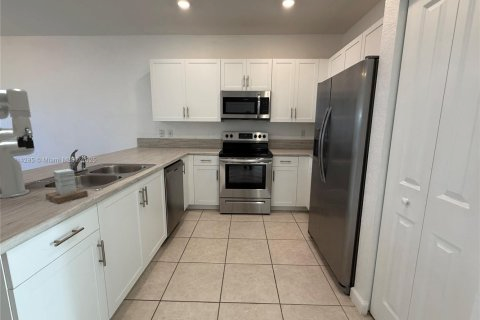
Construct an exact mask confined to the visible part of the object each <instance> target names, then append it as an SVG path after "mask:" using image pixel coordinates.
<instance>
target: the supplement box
mask: <svg viewBox="0 0 480 320" xmlns="http://www.w3.org/2000/svg"><path fill="white" fill-rule="evenodd" d="M53 177H54V183H55V185H54V186H55V190H56V191H55V192H57V193H58V194H60V195H66V194H71V193H75V192H77V190H76V188H77V184H76V175H75V170H73V169H71V168H66V169H59V170H53Z"/></svg>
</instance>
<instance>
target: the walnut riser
mask: <svg viewBox="0 0 480 320" xmlns="http://www.w3.org/2000/svg"><path fill="white" fill-rule="evenodd" d="M76 190H77V192H75V193H71V194H66V195H60V194H58V193H57V192H56V191H54V192H50V193H46V194H44V195H45V200H46V201H49V202H52V203H54V204H56V205H60V204H63V203H64V204H65V203H66V202H67V201H68V202H72V201H75V200H79V199H82V198H85V197H86V198H87V197H88V196H89V195H88V194H89V193H88V190H85V189H81V188H77V187H76ZM71 200H72V201H71ZM68 202H67V203H68Z"/></svg>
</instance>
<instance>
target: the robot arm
mask: <svg viewBox="0 0 480 320" xmlns="http://www.w3.org/2000/svg"><path fill="white" fill-rule="evenodd" d="M31 114H32V113H31V109H30V102H29V96H28V92H27V90H24V89H20V88H6V89H5V88H0V120H5V119H7V118H8V117H9V116H10V118H11V123H12V124H11V125H12V128H3V127H0V190H1V193H0V199H8V198H15V197H20V196H23V195H24V196H25V195H27V194H29V193H30V189H26V187H25V182H24V181H25V180H24V176H23V175H24V174H23V169H22V164H21V163H20V161H19V160H17V159H16V158H14V157H22V156H29V155H32V154H33V153H35V143H34V138H33V137H34V136H33V127H32V122H31V120H30V118H32V115H31Z"/></svg>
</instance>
